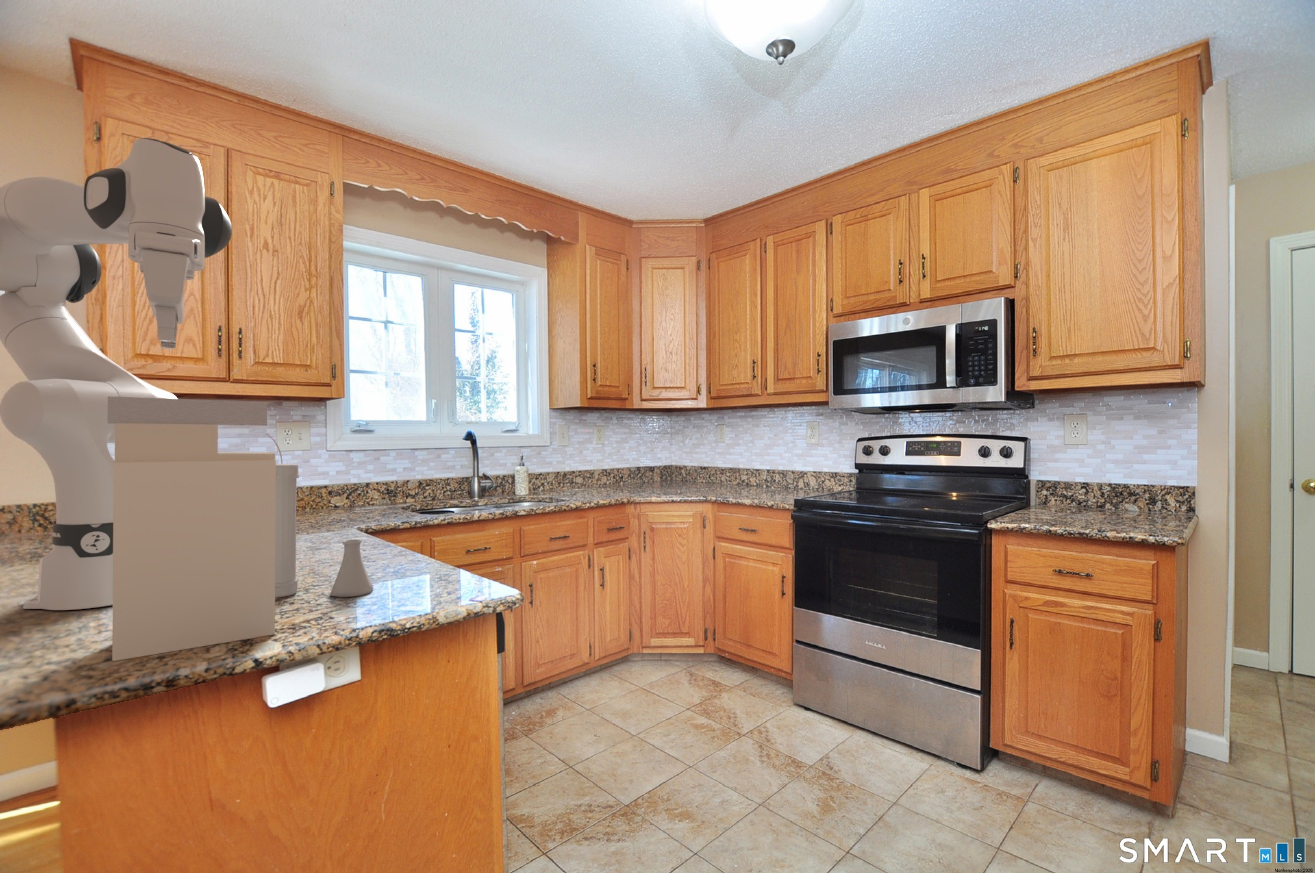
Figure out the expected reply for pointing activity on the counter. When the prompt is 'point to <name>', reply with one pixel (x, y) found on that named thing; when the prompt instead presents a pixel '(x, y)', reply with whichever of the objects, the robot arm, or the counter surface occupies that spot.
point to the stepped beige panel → (190, 540)
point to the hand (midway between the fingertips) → (167, 344)
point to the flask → (351, 572)
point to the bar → (186, 411)
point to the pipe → (285, 529)
